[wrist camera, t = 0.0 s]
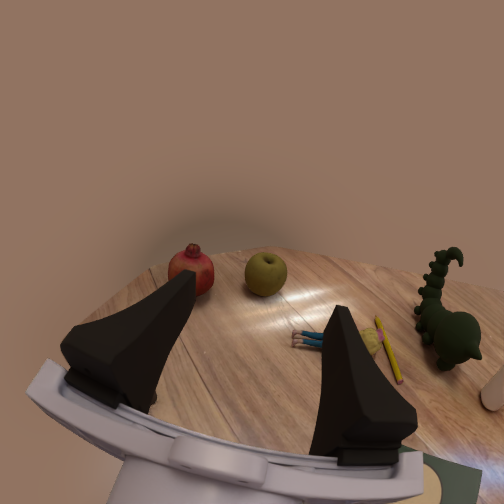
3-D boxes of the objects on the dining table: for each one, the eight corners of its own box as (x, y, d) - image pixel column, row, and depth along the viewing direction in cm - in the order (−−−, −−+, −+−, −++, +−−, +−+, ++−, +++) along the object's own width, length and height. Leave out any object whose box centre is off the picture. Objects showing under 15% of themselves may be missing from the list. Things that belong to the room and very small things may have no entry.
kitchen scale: (478, 472, 19) (482, 469, 18) (457, 551, 8) (462, 549, 7) (380, 440, 27) (384, 437, 27) (337, 528, 16) (341, 528, 16)
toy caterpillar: (396, 311, 55) (435, 395, 33) (429, 233, 48) (499, 297, 25) (428, 316, 55) (470, 393, 32) (460, 243, 47) (529, 304, 25)
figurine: (289, 358, 40) (379, 364, 39) (295, 339, 38) (389, 346, 37) (290, 332, 45) (372, 339, 44) (295, 312, 43) (381, 321, 42)
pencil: (401, 383, 36) (404, 380, 35) (396, 384, 36) (399, 380, 35) (376, 317, 50) (378, 313, 50) (372, 316, 50) (374, 312, 50)
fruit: (187, 274, 53) (190, 228, 48) (221, 292, 50) (227, 244, 45) (158, 293, 47) (157, 243, 42) (193, 315, 44) (195, 264, 39)
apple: (246, 304, 48) (252, 271, 45) (238, 278, 55) (243, 246, 52) (286, 303, 50) (296, 271, 47) (274, 278, 57) (282, 247, 54)
